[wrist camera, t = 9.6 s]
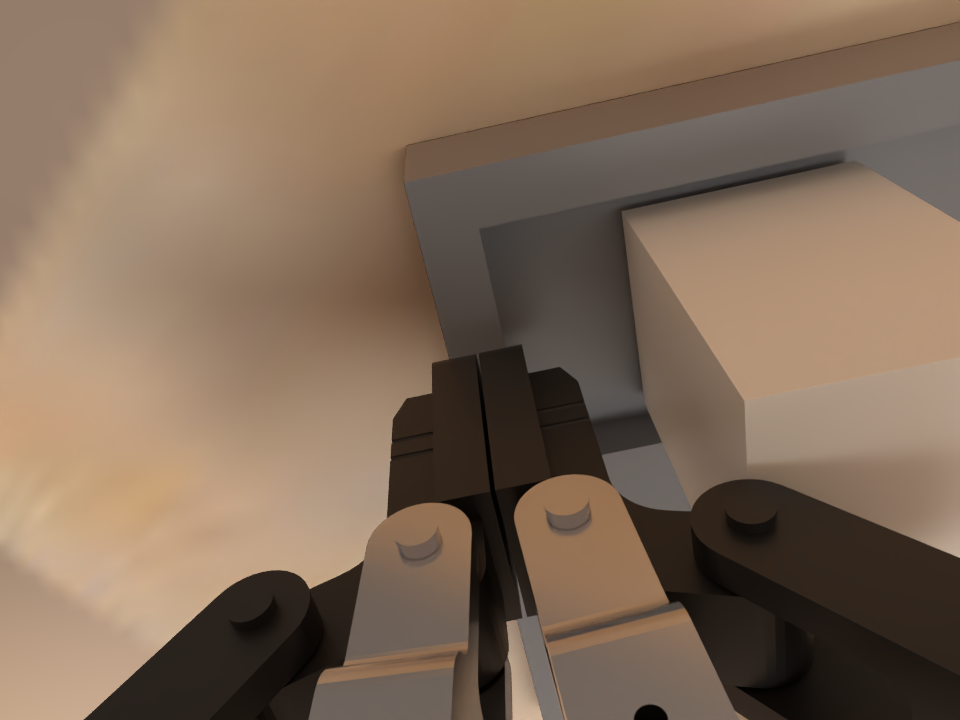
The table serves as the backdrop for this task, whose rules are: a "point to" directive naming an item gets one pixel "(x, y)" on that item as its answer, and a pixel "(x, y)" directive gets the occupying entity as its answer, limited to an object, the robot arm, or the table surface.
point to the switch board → (645, 181)
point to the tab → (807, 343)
